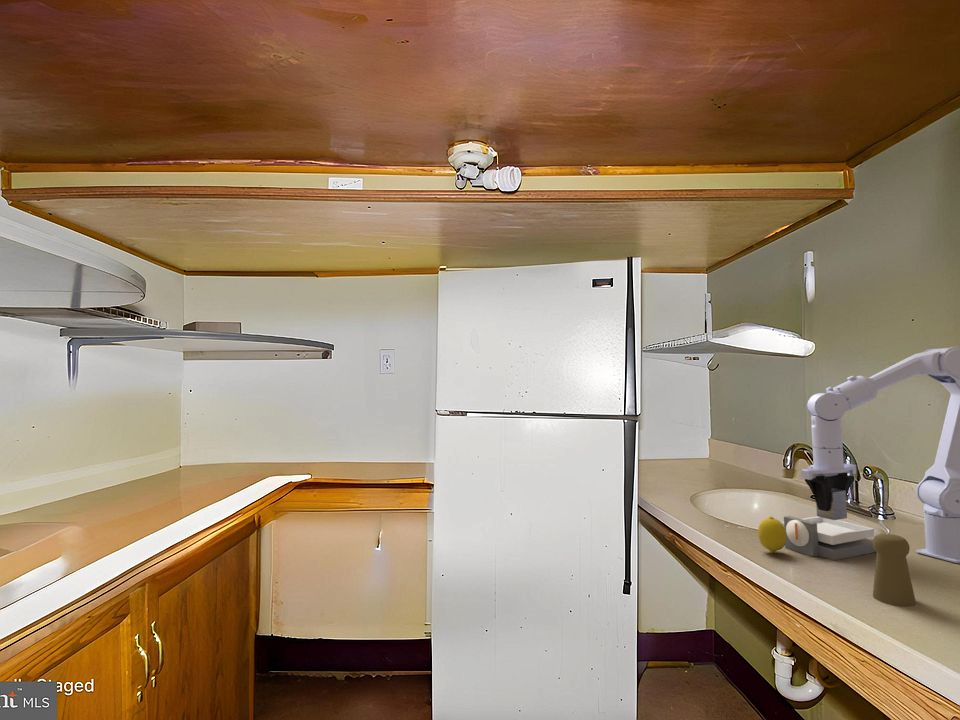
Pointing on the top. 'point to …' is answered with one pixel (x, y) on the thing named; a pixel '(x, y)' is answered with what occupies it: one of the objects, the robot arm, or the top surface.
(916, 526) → the top surface
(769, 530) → the lemon
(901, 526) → the top surface
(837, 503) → the steel block
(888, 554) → the cork
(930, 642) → the top surface
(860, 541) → the kitchen scale
